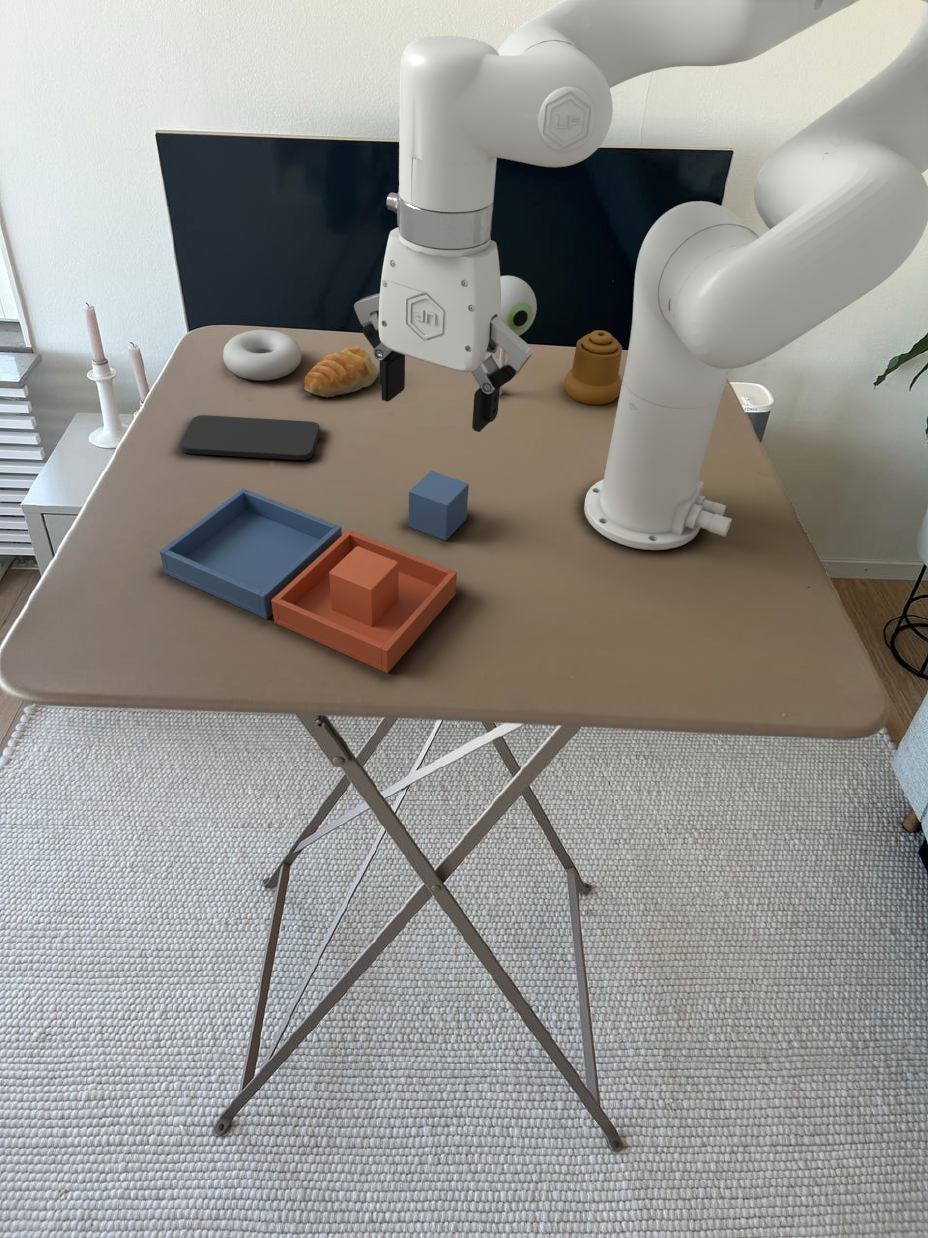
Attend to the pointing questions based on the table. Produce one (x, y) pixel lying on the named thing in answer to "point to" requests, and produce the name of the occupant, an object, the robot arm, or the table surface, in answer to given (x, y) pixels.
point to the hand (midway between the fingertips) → (437, 409)
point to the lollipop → (516, 307)
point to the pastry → (341, 373)
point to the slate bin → (248, 550)
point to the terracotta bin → (377, 646)
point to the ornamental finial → (595, 369)
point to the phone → (250, 437)
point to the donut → (262, 355)
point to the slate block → (438, 505)
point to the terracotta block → (364, 585)
